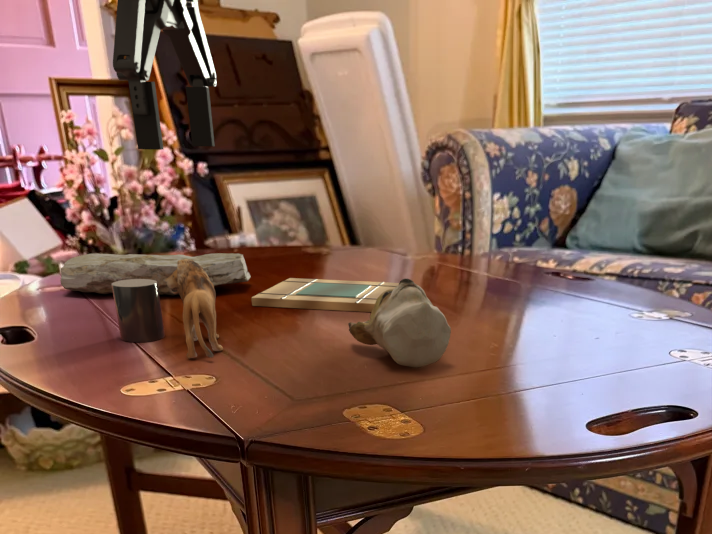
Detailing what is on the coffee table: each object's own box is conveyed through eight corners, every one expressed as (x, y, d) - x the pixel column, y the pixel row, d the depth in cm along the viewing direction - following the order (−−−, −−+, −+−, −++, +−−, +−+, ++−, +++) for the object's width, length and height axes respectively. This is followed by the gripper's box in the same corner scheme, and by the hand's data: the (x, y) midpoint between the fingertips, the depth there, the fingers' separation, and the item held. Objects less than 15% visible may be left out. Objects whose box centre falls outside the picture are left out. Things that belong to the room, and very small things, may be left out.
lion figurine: (171, 334, 94) (160, 257, 90) (214, 330, 96) (206, 255, 92) (189, 364, 83) (178, 278, 78) (238, 359, 84) (229, 275, 80)
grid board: (251, 305, 109) (251, 296, 109) (289, 285, 123) (289, 277, 122) (387, 313, 106) (387, 303, 105) (410, 291, 119) (411, 282, 119)
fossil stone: (256, 283, 126) (253, 249, 123) (239, 301, 113) (235, 263, 110) (87, 281, 126) (81, 247, 123) (50, 299, 113) (42, 261, 110)
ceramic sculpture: (375, 288, 74) (341, 272, 87) (376, 376, 78) (344, 348, 91) (476, 284, 77) (429, 269, 90) (473, 369, 81) (428, 343, 94)
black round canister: (112, 341, 91) (102, 285, 88) (134, 330, 96) (126, 278, 93) (152, 343, 90) (143, 287, 87) (172, 333, 95) (165, 279, 92)
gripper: (121, -110, 70) (156, 151, 80) (231, -55, 91) (248, 145, 101) (48, -106, 71) (92, 150, 81) (173, -53, 92) (196, 144, 102)
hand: (178, 148), depth 91 cm, fingers open, 13 cm apart
